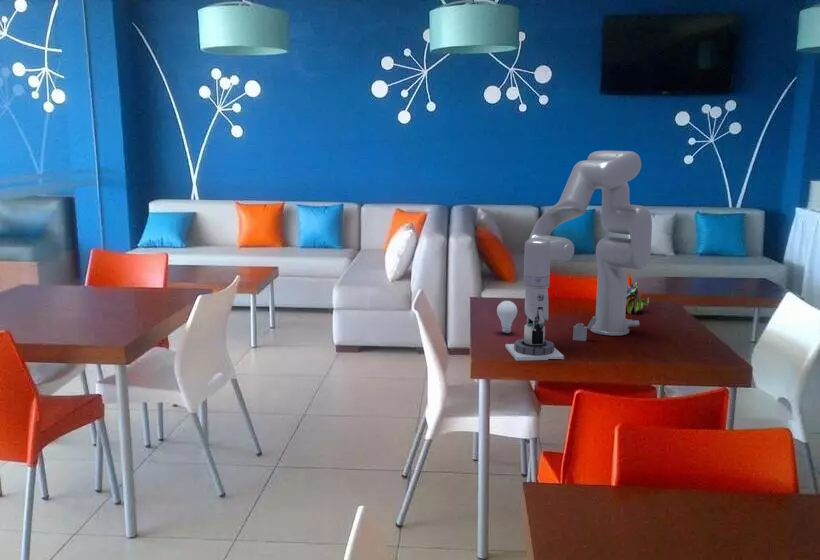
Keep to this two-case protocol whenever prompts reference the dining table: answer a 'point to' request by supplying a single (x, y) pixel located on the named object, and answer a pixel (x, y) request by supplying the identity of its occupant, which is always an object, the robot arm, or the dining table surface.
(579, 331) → the lighter
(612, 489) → the dining table surface
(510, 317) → the light bulb
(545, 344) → the segmented ring plate
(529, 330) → the knob
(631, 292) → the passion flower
